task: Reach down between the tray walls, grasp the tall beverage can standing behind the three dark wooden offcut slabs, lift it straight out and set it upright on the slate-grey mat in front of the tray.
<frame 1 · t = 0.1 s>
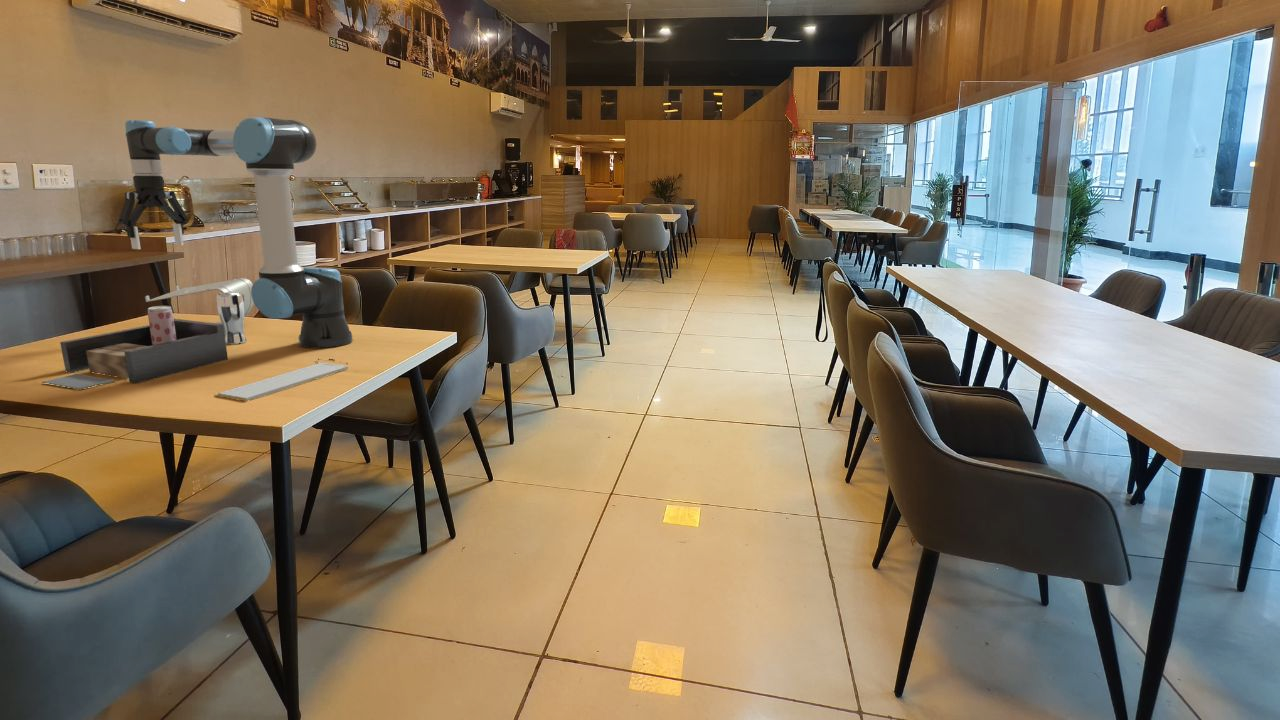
hand: (158, 247, 221), 28 cm above the table, tool pointing down, fingers open, 13 cm apart
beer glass: (235, 343, 222), on the table
offcut slab 2: (128, 371, 189), on the table
portable electronic device stand: (207, 330, 238), on the table
tray: (153, 364, 196), on the table
baseboard molding: (284, 384, 182), on the table
mat: (78, 382, 178), on the table
beverage can: (167, 362, 199), resting in tray
offcut slab 1: (140, 368, 192), on the table
offcut slab 3: (114, 374, 186), on the table
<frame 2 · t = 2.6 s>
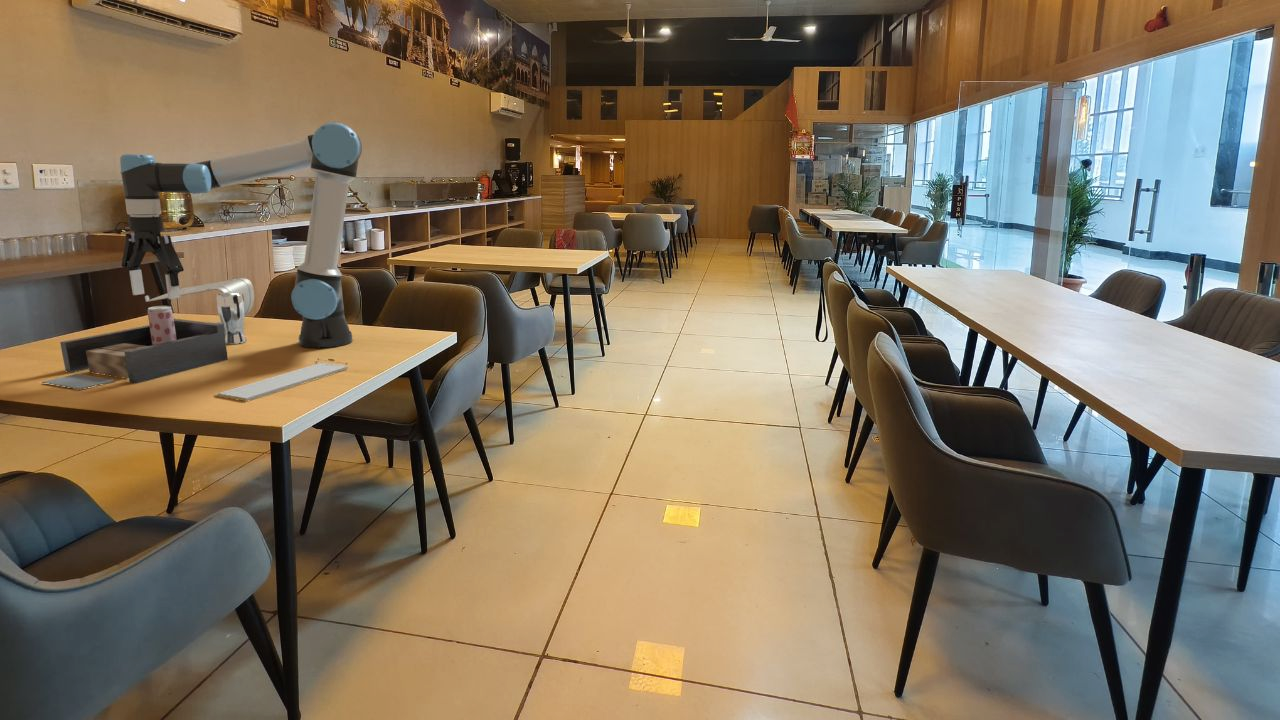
hand: (156, 296, 195), 18 cm above the table, tool pointing down, fingers open, 13 cm apart
nothing on the table moved.
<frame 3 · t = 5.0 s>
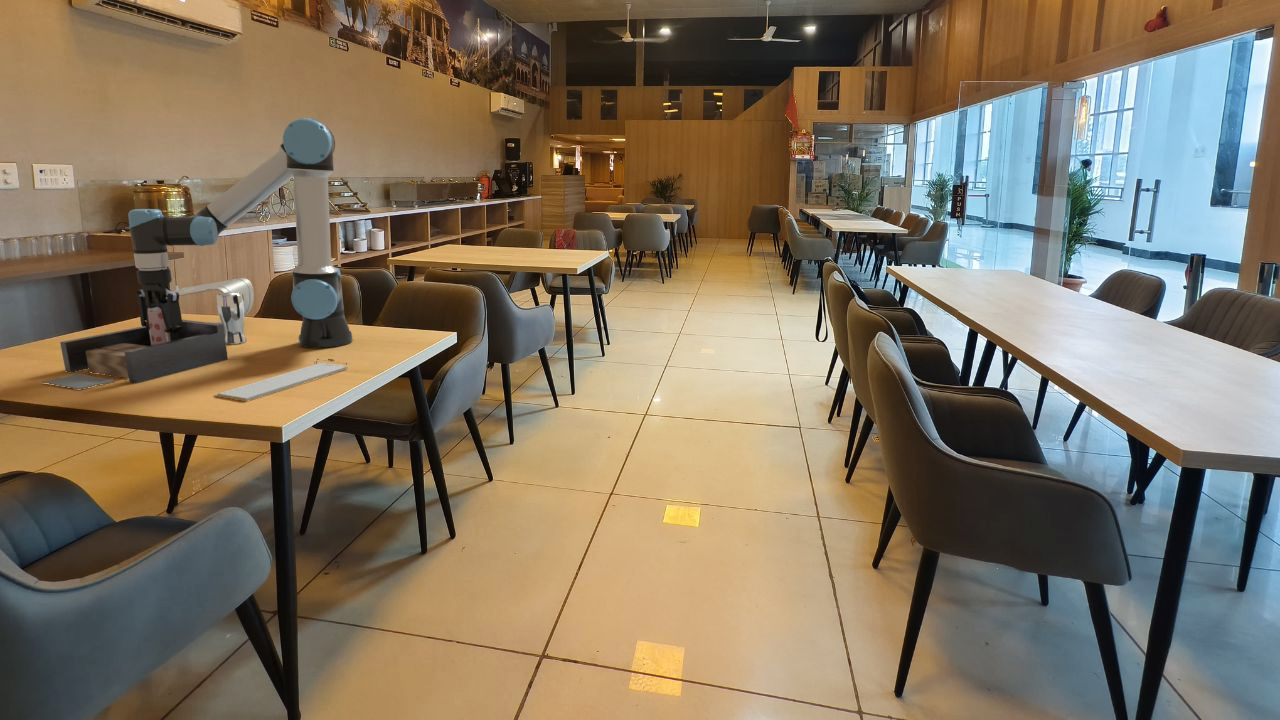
hand: (166, 353, 199), 2 cm above the table, tool pointing down, fingers closed on beverage can, 6 cm apart
beverage can: (167, 362, 199), resting in tray, touching gripper
everything else where it was.
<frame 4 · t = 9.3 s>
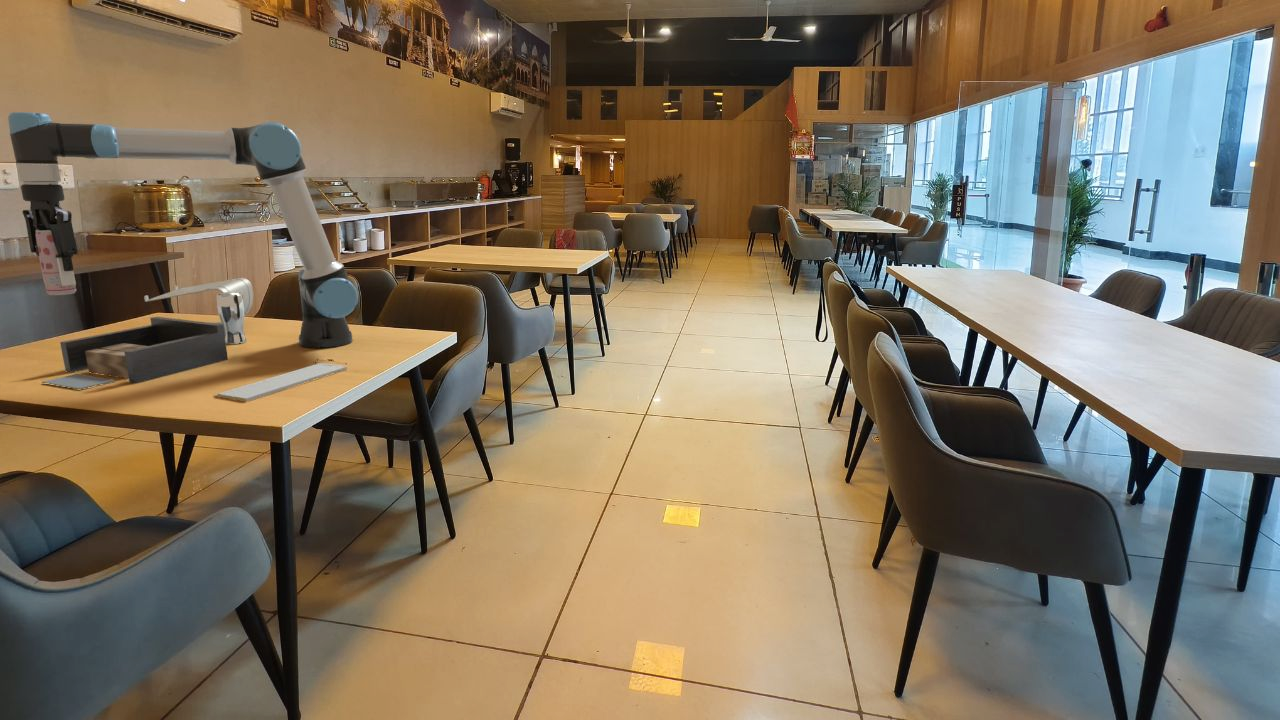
hand: (60, 283, 172), 24 cm above the table, tool pointing down, fingers closed on beverage can, 6 cm apart
beverage can: (62, 294, 173), point 22 cm above the table, touching gripper
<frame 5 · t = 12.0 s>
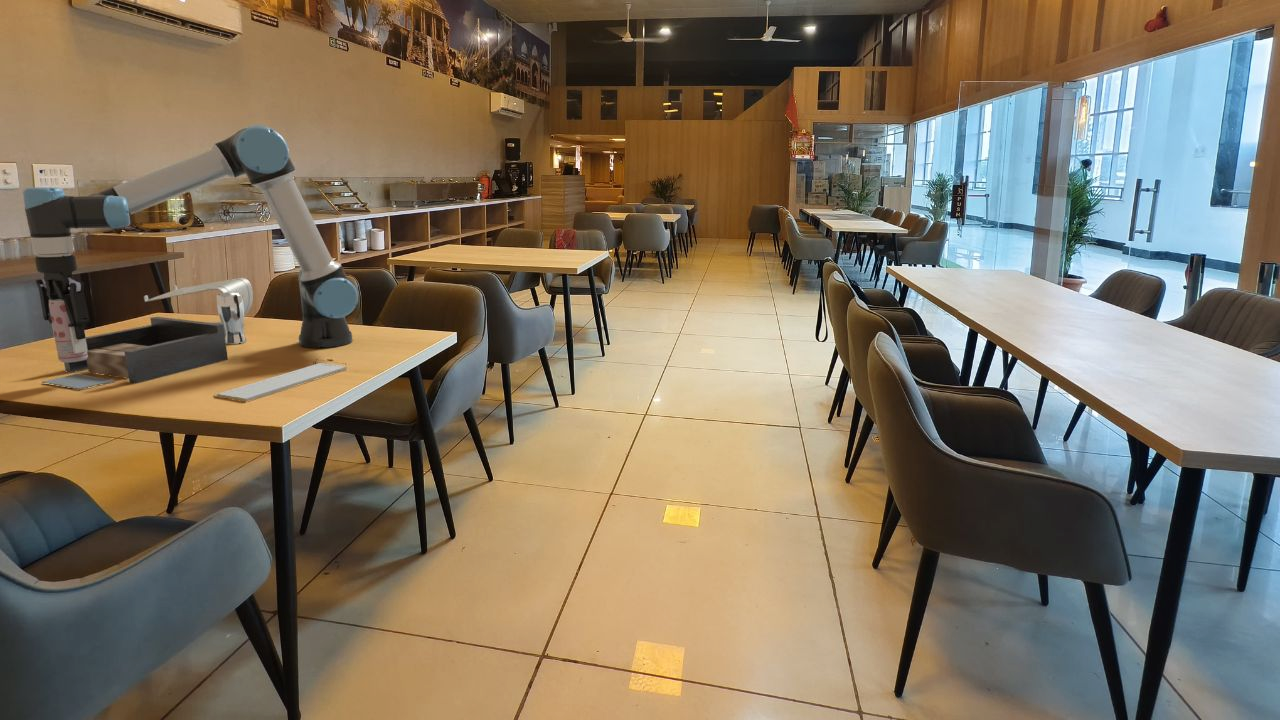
hand: (72, 350, 176), 8 cm above the table, tool pointing down, fingers closed on beverage can, 6 cm apart
offcut slab 2: (128, 371, 189), on the table, touching offcut slab 3
beverage can: (74, 360, 177), point 6 cm above the table, touching gripper
offcut slab 3: (114, 374, 186), on the table, touching offcut slab 2
everything else where it was.
when the fingers open (4 cm above the table, at t = 13.7 s): beverage can drops 1 cm, resting on mat.
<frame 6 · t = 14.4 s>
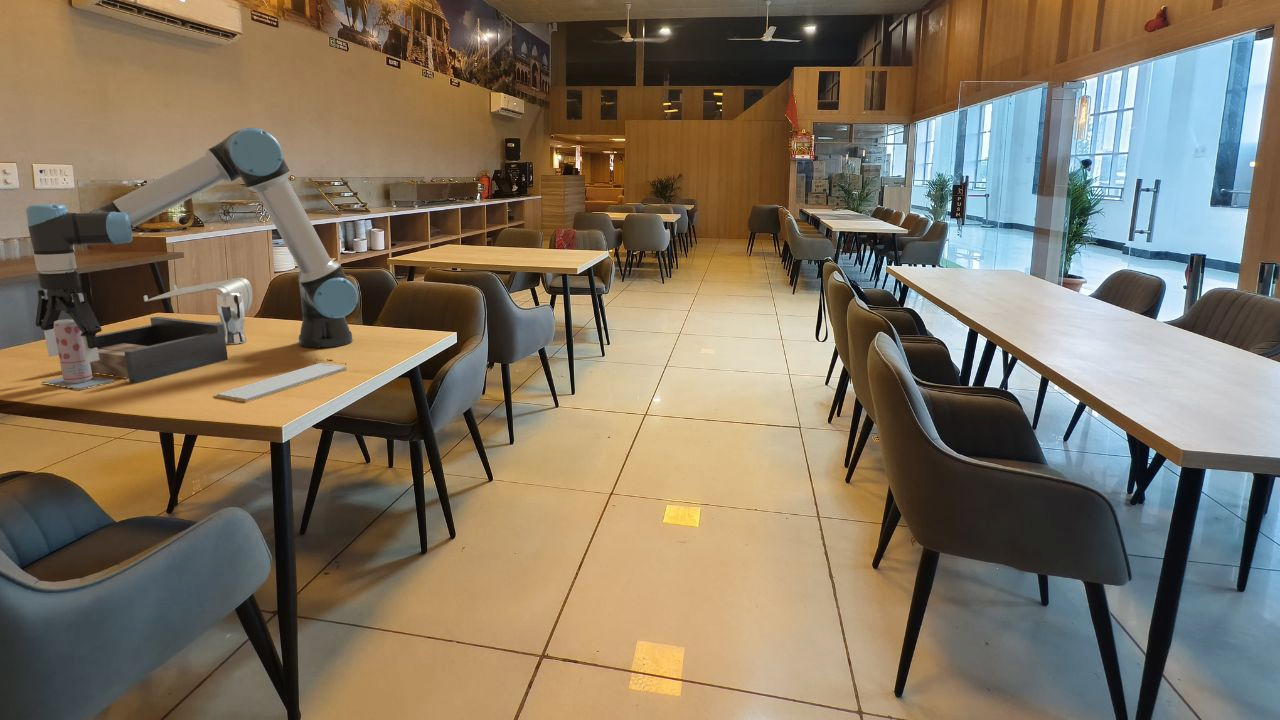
hand: (74, 358, 177), 6 cm above the table, tool pointing down, fingers open, 13 cm apart
offcut slab 2: (128, 371, 189), on the table
beverage can: (78, 381, 178), resting on mat
offcut slab 3: (115, 374, 186), on the table
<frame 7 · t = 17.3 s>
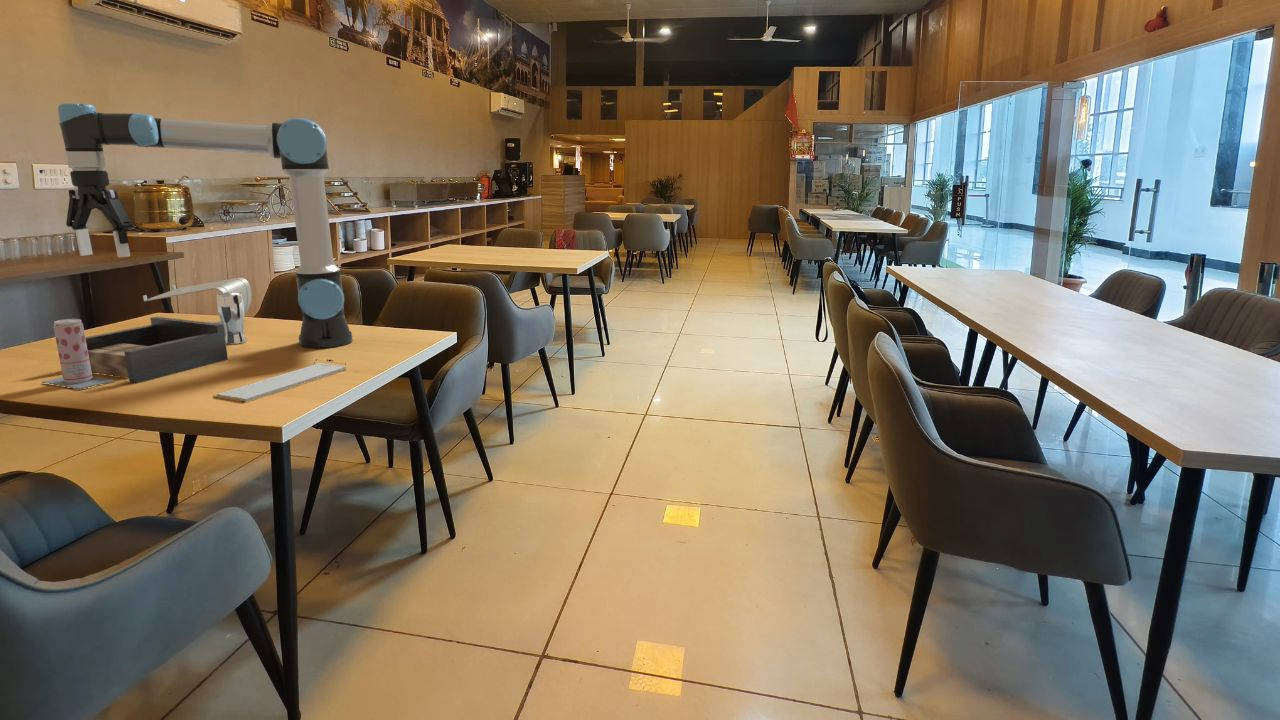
hand: (105, 256, 185), 29 cm above the table, tool pointing down, fingers open, 13 cm apart
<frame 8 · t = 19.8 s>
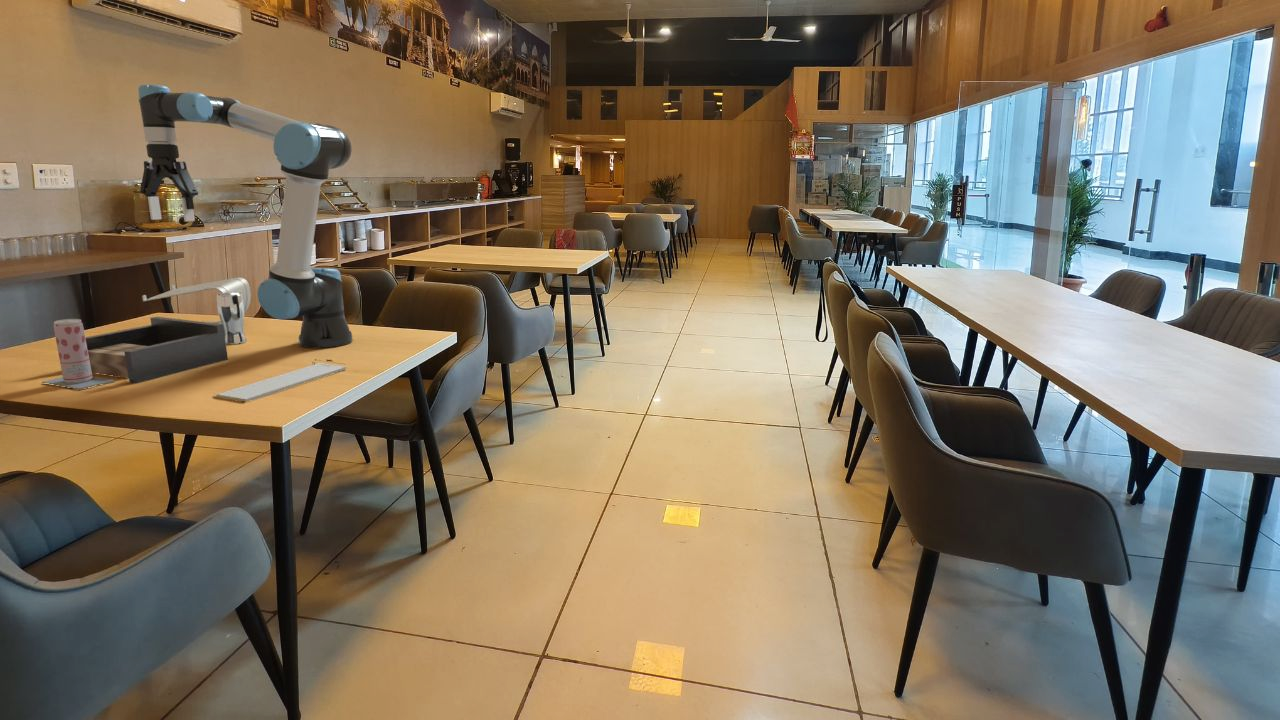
hand: (172, 220, 210), 37 cm above the table, tool pointing down, fingers open, 13 cm apart
at the end: beverage can inside the target area (0.0 cm from its centre), resting on mat; beverage can tilted 0°; the gripper is holding nothing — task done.
